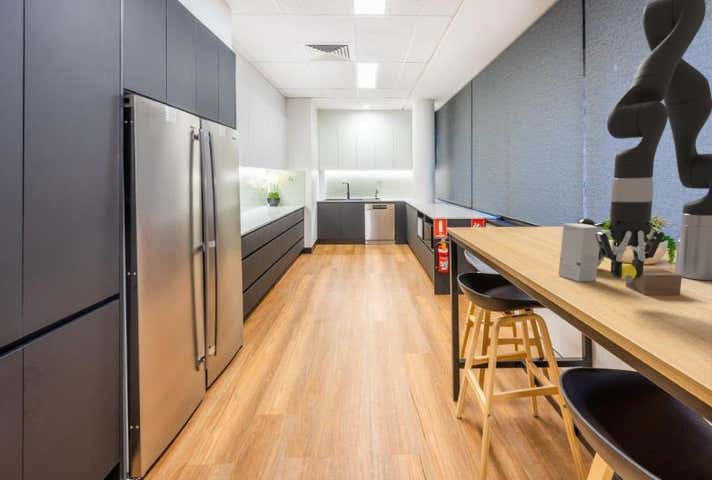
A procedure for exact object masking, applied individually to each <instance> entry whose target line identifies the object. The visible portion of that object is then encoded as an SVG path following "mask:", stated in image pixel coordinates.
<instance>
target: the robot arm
mask: <svg viewBox="0 0 712 480" xmlns="http://www.w3.org/2000/svg"><path fill="white" fill-rule="evenodd" d="M706 7H707V6H706V0H654V1H651V2H649V3H648V4H647V5H645V7H644V9H643V12H642V27H643V31H644V35H645V39H646V42H647V44H648V47H649V49H650V52H649V53H648V55H647V56H646V57H645V58H644V59H643V60H642V61H641V63H640V64H639V65H638V67H637V69H636V71H635V73H634V76H633V78H632V80H631V84H630V86H629V88H628V90H627V91H626V92H624V94H623V95H622V96H621V97H620V99H619V100H618V101H617V102H616V104H615V105H614V106H613V107H612V109H611V110H610V113H609V114H608V118H607V123H606V128H607V131H608V133H609V134H610V136H611V137H613V138H614V139H618V140H619V139H620V140H621V139H637V138H641V140H640V142H639V143H638V144H637V145H636V146H635V147H632V148H628V149H624V150H621V151H619V152H617V153H616V155H615V158H614V169H613V170H614V172H613V173H614V174H613V183H612V187H611V197H610V214H609V219H610V224H609V226H608V228H607V230H603V231H602V232H597V233H596V234H595V236H596V239H597V241H598V244H599V247H600V250H601V253H602V256H603V257H604V258H606V259H609V260H610V273H611V275H612V277H613V278H615V279H622V278H621V275H622V265H623V261H622V259H623V256H624V253H625V252H626V251H627V247H629V248H630V249H631V253H632V258H633V259H631V260H632V261H631V265H632V266H634V267H635V268H636V272H637V274H636V276H635V278H640V276H641V275H642V274H643V268H644V264H645V263H644V262H645V260H647V259H653V258H654V257H655V255H656V253H657V250H658V247H659V246H660V244H661V242H662V239H663V237H664V232H662V231H658V230H654V229H652V227H651V225H650V222H651V220H652V211H653V210H652V209H653V197H654V196H653V195H654V182H653V177H654V166H655V165H654V162H655V156H656V153H657V149H658V146H659V143H660V140H661V138H662V136H663V133H664V131H665V129H666V126H667V123H668V121H669V124H670V125H669V126H670V129H671V134H672V138H673V143H674V150H675V158H676V167H677V174H678V179H679V182H680V183H681V185H682V187H685V188H687V189H692V190H693V189H698V190H700V189H701V190H705V189H706V190H708V191H707V194H706V195H704V196H703V197H701V198H700V199H696V200H692V201H689V202H686V203H685V204H684V205H683V207H682V217H681V228H680V238H679V239H678V241H677V248H676V257H675V259H676V260H675V266H674V267H675V269H674V273H676V274H680V275H682V278H687V279H691V280H692V279H693V280H701V281H702V280H703V281H704V280H705V281H712V153H698V151H697V139H698V136H699V134H700V132H701V131H702V129H703V128H704V126H705V125H706V123H707V121H708V119H709V117H710V115H711V113H712V91H711V87H710V83H709V81H708V78H707V77H706V76H705V75H704V74H703V73H702V72H701V71H699V70H698V69H697V68H695V67H694V66H693V65H692V64H690V63H689V62H687V61H686V60H684V58H683V56H684V55H685V53H686V51H687V50H688V49H689V47H690V46H691V44H692V42H693V40H694V39H695V37H696V35H697V34H698V32H699V31H700V29H701V27H702V25H703V23H704V20H705V17H706ZM611 238H612V239H613V240H612V244H610V240H611ZM646 238H647V240H646V242H645V239H646Z"/></svg>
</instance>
